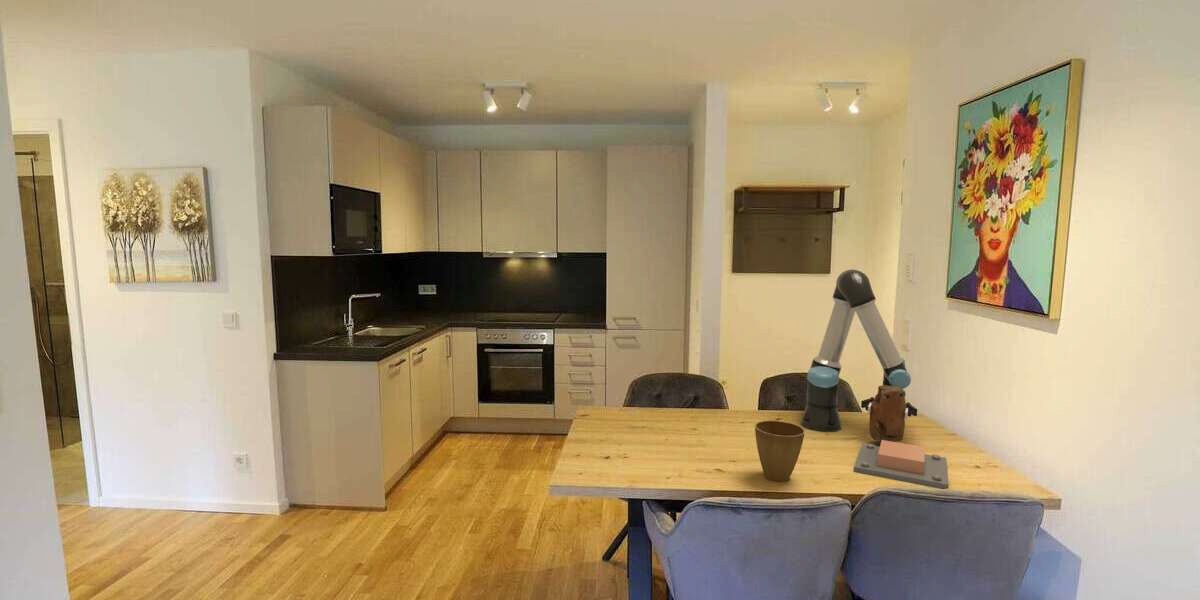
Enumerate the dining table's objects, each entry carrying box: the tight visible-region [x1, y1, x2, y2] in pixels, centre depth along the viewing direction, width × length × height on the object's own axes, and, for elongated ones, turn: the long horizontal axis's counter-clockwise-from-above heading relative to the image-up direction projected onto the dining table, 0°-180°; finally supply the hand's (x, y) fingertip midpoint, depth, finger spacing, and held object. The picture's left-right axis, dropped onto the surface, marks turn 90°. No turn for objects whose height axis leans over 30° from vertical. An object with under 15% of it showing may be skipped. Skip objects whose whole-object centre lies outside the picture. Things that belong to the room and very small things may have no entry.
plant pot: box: [754, 420, 806, 483], centre depth 174 cm, size 15×15×16 cm
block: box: [868, 384, 907, 443], centre depth 205 cm, size 11×8×20 cm
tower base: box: [853, 440, 950, 489], centre depth 184 cm, size 26×26×6 cm
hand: (887, 413), depth 202 cm, fingers closed on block, 11 cm apart
